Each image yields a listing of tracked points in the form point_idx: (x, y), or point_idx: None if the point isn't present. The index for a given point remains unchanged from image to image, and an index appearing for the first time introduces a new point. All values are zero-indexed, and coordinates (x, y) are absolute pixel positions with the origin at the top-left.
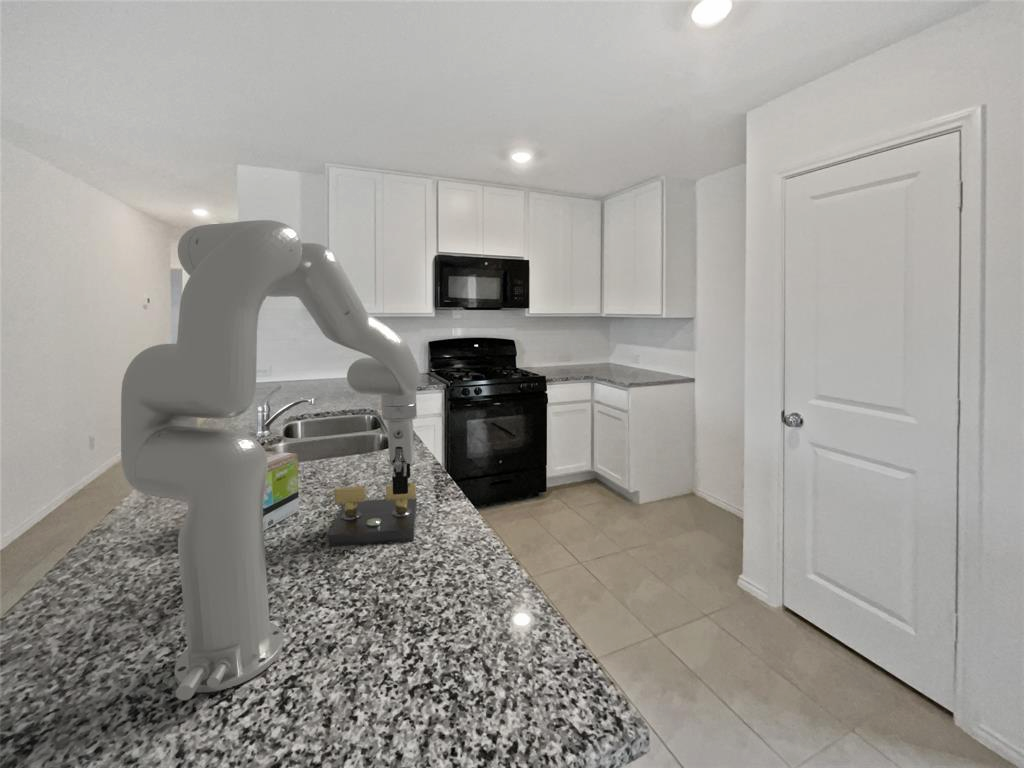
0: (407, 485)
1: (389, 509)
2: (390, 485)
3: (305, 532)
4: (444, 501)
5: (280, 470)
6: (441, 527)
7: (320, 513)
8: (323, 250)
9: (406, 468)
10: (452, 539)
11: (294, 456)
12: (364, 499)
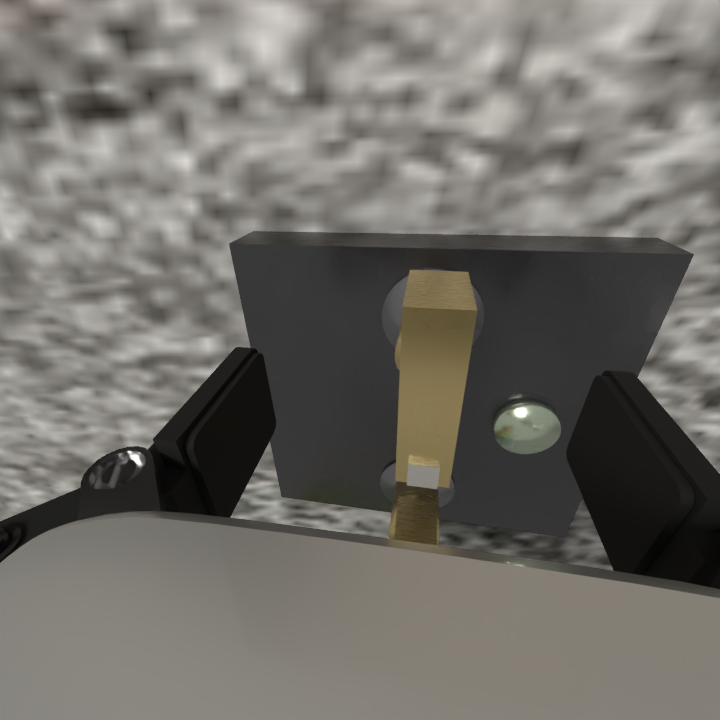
0: (666, 416)
1: (377, 368)
2: (432, 470)
3: None
4: (161, 55)
5: None
6: (551, 66)
7: (304, 515)
8: None
9: (231, 420)
10: None
11: None
12: (436, 511)
